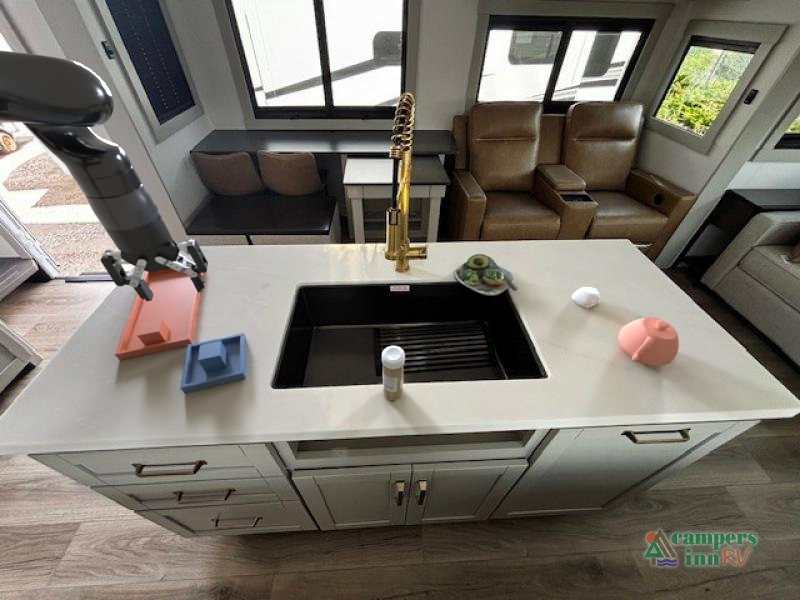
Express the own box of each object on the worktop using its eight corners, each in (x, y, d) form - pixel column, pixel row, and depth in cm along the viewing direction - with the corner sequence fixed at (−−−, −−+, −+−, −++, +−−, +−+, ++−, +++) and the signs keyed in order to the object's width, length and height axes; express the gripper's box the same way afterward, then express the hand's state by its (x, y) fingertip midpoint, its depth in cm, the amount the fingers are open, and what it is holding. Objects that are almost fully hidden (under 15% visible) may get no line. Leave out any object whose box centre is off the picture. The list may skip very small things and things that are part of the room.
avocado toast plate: (529, 283, 102) (534, 271, 99) (497, 309, 93) (501, 297, 89) (479, 256, 112) (482, 245, 109) (446, 277, 103) (447, 265, 100)
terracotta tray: (119, 360, 76) (114, 354, 75) (149, 276, 100) (145, 270, 98) (192, 344, 80) (189, 339, 79) (204, 267, 104) (202, 261, 102)
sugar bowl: (675, 353, 82) (701, 325, 75) (655, 384, 75) (682, 356, 68) (625, 325, 89) (645, 298, 82) (602, 352, 82) (622, 324, 75)
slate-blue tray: (184, 393, 70) (180, 388, 69) (191, 350, 79) (187, 344, 78) (246, 378, 74) (243, 373, 72) (246, 338, 82) (243, 332, 81)
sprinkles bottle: (407, 392, 72) (409, 354, 63) (392, 404, 70) (392, 367, 61) (393, 379, 74) (393, 341, 65) (378, 391, 72) (376, 353, 63)
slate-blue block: (205, 372, 74) (197, 360, 71) (207, 357, 77) (199, 345, 74) (226, 367, 75) (220, 355, 72) (227, 352, 78) (221, 340, 75)
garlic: (582, 289, 100) (588, 280, 97) (603, 302, 96) (608, 293, 93) (566, 298, 97) (571, 289, 94) (586, 312, 93) (592, 302, 90)
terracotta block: (146, 347, 79) (136, 335, 76) (150, 334, 82) (141, 322, 79) (167, 343, 80) (158, 331, 77) (170, 330, 83) (162, 318, 80)
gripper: (66, 235, 46) (127, 315, 57) (178, 221, 50) (215, 298, 61) (84, 211, 51) (137, 288, 62) (184, 200, 55) (218, 275, 66)
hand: (176, 293), depth 61 cm, fingers open, 8 cm apart
